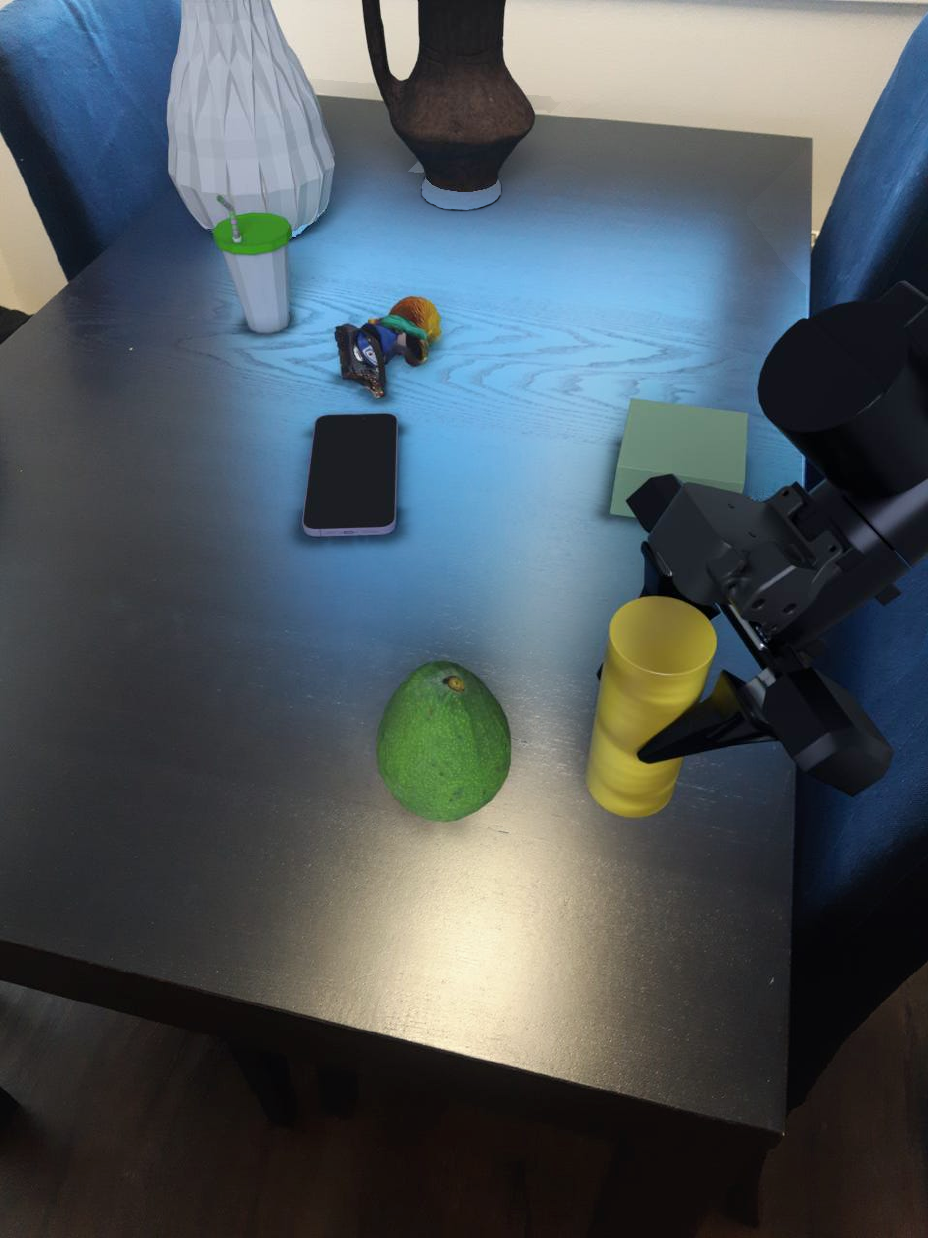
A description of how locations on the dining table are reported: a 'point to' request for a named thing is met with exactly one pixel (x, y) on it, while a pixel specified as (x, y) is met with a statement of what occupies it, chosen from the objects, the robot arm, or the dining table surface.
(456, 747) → the fruit
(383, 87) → the jug
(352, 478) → the smartphone
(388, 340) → the figurine
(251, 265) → the cup
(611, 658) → the yellow tumbler
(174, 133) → the vase
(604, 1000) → the dining table surface
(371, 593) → the dining table surface
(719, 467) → the green block
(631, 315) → the dining table surface
